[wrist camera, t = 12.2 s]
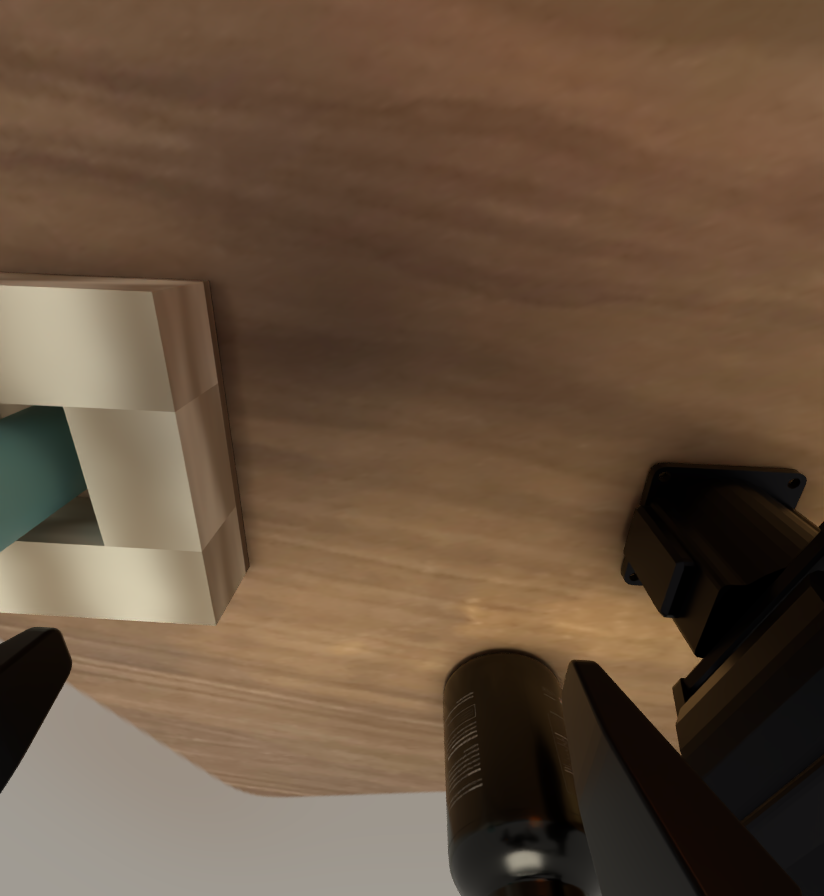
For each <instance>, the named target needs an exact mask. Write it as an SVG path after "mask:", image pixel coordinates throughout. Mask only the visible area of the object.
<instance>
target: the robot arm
mask: <svg viewBox="0 0 824 896" xmlns="http://www.w3.org/2000/svg"><path fill="white" fill-rule="evenodd" d="M663 472H667V473H666V475H665V476H663V477H661V478H659V475H660V474H661V473H663ZM792 479H794V480H793V481H792V482H791V483H789V484H788V482H789V481H790V480H792ZM806 481H807V480H806V477H805V476H804V475H803V474H801V473H800V472H798V471H797V470H794V469H781V468H761V467H742V466H722V465H703V464H683V463H658V464H656V465H654V466H653V467H652V468H651V470H650V472H649V475H648V478H647V482H646V485H645V489H644V492H643V496H642V499H641V503H640V506H638V507H637V508H636V510H635V512H634V516H633V519H632V523H631V526H630V530H629V534H628V537H627V541H626V544H625V548H624V554H625V559H624V563H623V567H622V570H621V575H622V576H623V578H624V580H625V582H626V583H628V584H630V585H640V586H644V588H645V590H646V591H647V593H648V595H649V596H650V598H651V600H652V601H653V603H654V605H655V606H656V608H657V610H658V611H659V612H660V613H661V615H662V616H663V617H667V618H672V619H673V621H674V622H675V624H676V625H677V627H678V629H679V630H680V632H681V633H682V635H683V637H684V638H685V640H686V642H687V643H688V645H689V646H690V648H691V650H692V651H693V653H694V654H695V655H696V657H699V658H703V659H702V660H701V661H700V662H699V664H698V665H697V666H696V667H695V668H694V669H693V670H692V671H691V672H690V673H689V674H688V676H687V677H686V678H681V679H680V680H679V681H678V682H677V683H676V684H675V685H674V686H673V687H672V690H673V695H674V701H675V706H676V712H677V717H678V718H677V722H676V731H677V736H678V742H679V747H680V752H681V754H682V755H680V754H679V753H678V752H677V751H676V750H675V749H674V748H673V746H672V745H671V744H670V743H669V742H668V741H667V740H666V739H665V738H664V737H663V735H662V734H661V733H660V732H659V731H658V730H657V729H656V728H655V727H654V725H653V724H652V723H651V722H650V721H649V720H648V719H647V718H646V717H645V715H644V714H643V713H642V712H641V711H640V710H639V709H638V708H637V707H636V705H635V704H634V703H633V702H632V701H631V700H630V699H629V698H628V697H627V696H626V694H625V693H624V692H623V691H622V690H621V689H620V688H619V687H618V686H617V684H616V683H615V682H614V681H613V680H612V679H611V678H610V677H609V676H608V674H607V673H606V672H605V671H604V670H603V669H602V668H601V667H600V666H599V665H598V664H597V663H596V662H594V661H588V660H572V661H571V662H570V663H569V666H568V669H567V673H566V677H565V681H564V685H563V690H562V709H563V715H564V721H565V727H566V733H567V739H568V746H569V752H570V758H571V764H572V770H573V776H574V782H575V788H576V794H577V799H578V805H579V809H580V813H581V818H582V822H583V826H584V830H585V833H586V837H587V841H588V845H589V849H590V852H591V856H592V860H593V864H594V868H595V871H596V875H597V879H598V883H599V887H600V890H601V894H602V896H824V522H823V523H822V524H821V525H820V526H819V527H817V526H816V525H815V524H813V523H812V522H811V521H810V520H808V519H807V518H806V517H804V516H803V515H802V514H800V513H799V512H798V511H796V510H795V507H796V505H797V503H798V501H799V498H800V496H801V494H802V492H803V489H804V487H805V485H806ZM632 573H636V574H634V575H632V576H630V575H631V574H632ZM71 668H72V659H71V656H70V653H69V651H68V648H67V646H66V643H65V641H64V638H63V635H62V633H61V632H60V630H58V629H56V628H48V627H33V628H30V629H27V630H25V631H23V632H22V633H20V634H18V635H16V636H14V637H12V638H10V639H9V640H7V641H5V642H3V643H1V644H0V793H1V792H2V790H3V789H4V787H5V786H6V784H7V783H8V781H9V780H10V778H11V777H12V775H13V773H14V772H15V770H16V768H17V767H18V765H19V764H20V762H21V760H22V759H23V757H24V755H25V753H26V752H27V750H28V748H29V746H30V745H31V743H32V741H33V739H34V737H35V736H36V734H37V732H38V730H39V728H40V727H41V725H42V723H43V721H44V719H45V718H46V716H47V714H48V712H49V710H50V709H51V707H52V705H53V703H54V701H55V699H56V698H57V696H58V694H59V692H60V691H61V689H62V687H63V685H64V683H65V682H66V680H67V678H68V676H69V674H70V671H71Z"/></svg>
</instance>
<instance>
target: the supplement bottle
mask: <svg viewBox="0 0 824 896" xmlns="http://www.w3.org/2000/svg"><path fill="white" fill-rule="evenodd" d="M443 720H444V749H445V777H446V802H447V804H446V806H447V833H448V855H449V867H450V872H451V875H452V878H453V881H454V883H455V885H456V887H457V889H458V891H459V893H460V895H461V896H602V894H601V890H600V887H599V883H598V879H597V875H596V871H595V868H594V864H593V860H592V856H591V852H590V849H589V845H588V841H587V837H586V833H585V830H584V826H583V822H582V818H581V813H580V809H579V805H578V799H577V794H576V788H575V782H574V776H573V770H572V764H571V758H570V752H569V746H568V739H567V733H566V727H565V721H564V715H563V709H562V689H561V687H560V684H559V682H558V680H557V678H556V677H555V675H554V674H553V673H552V672H551V671H550V670H549V669H548V668H547V667H546V666H545V665H543V664H542V663H540V662H539V661H537V660H535V659H533V658H530V657H528V656H525V655H521V654H516V653H491V654H486V655H482V656H479V657H476V658H474V659H472V660H470V661H468V662H466V663H464V664H463V665H462V666H460V667H459V668H458V669H457V670H456V671H455V672H454V673H453V674H452V675H451V677H450V678H449V680H448V682H447V684H446V687H445V690H444V695H443Z"/></svg>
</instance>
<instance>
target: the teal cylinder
mask: <svg viewBox="0 0 824 896" xmlns="http://www.w3.org/2000/svg"><path fill="white" fill-rule="evenodd" d="M86 489H87V485H86V482H85V479H84V475H83V472H82V469H81V465H80V462H79V459H78V455H77V452H76V448H75V445H74V442H73V438H72V435H71V432H70V428H69V425H68V422H67V418H66V415H65V412H64V408H63V406H42V405H33V406H30V407H28V408H26V409H23V410H21V411H19V412H16V413H14V414H11V415H9V416H7V417H4V418H2V419H0V552H1V551H3V550H4V549H5V548H7V547H8V546H9V545H11V544H12V543H14V542H15V541H16V540H18V539H19V538H20V537H22V536H23V535H25V534H26V533H27V532H29V531H30V530H31V529H33V528H34V527H35V526H37V525H38V524H40V523H41V522H42V521H44V520H45V519H46V518H48V517H49V516H51V515H52V514H53V513H55V512H56V511H57V510H59V509H60V508H61V507H63V506H64V505H66V504H67V503H68V502H70V501H71V500H72V499H74V498H75V497H77V496H78V495H79V494H81V493H82V492H83V491H85V490H86Z"/></svg>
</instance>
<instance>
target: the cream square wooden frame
mask: <svg viewBox="0 0 824 896" xmlns="http://www.w3.org/2000/svg"><path fill="white" fill-rule="evenodd" d="M33 405H42V406H63V408H64V412H65V415H66V418H67V422H68V425H69V428H70V432H71V435H72V438H73V442H74V445H75V448H76V452H77V455H78V459H79V462H80V465H81V469H82V472H83V475H84V479H85V482H86V485H87V489H86V490H85V491H83V492H82V493H81V494H79V495H78V496H77V497H75V498H74V499H72V500H71V501H70V502H68V503H67V504H66V505H64V506H63V507H61V508H60V509H59V510H57V511H56V512H55V513H53V514H52V515H51V516H49V517H48V518H46V519H45V520H44V521H42V522H41V523H40V524H38V525H37V526H35V527H34V528H33V529H31V530H30V531H29V532H27V533H26V534H25V535H23V536H22V537H20V538H19V539H18V540H16V541H15V542H14V543H12V544H11V545H9V546H8V547H7V548H5V549H4V550H3V551H1V552H0V612H3V613H19V614H35V615H51V616H67V617H83V618H99V619H116V620H132V621H148V622H164V623H180V624H196V625H212V626H216V625H217V623H218V621H219V620H220V618H221V616H222V614H223V613H224V611H225V609H226V607H227V605H228V604H229V602H230V600H231V598H232V597H233V595H234V593H235V591H236V590H237V588H238V586H239V584H240V582H241V581H242V579H243V577H244V575H245V574H246V572H247V570H248V568H249V560H248V553H247V546H246V539H245V532H244V525H243V518H242V511H241V504H240V496H239V489H238V482H237V475H236V468H235V461H234V454H233V447H232V440H231V433H230V426H229V419H228V412H227V405H226V397H225V390H224V383H223V376H222V369H221V362H220V355H219V348H218V341H217V334H216V327H215V320H214V313H213V306H212V298H211V291H210V284H209V281H202V280H178V279H154V278H129V277H105V276H81V275H57V274H33V273H9V272H0V419H2V418H4V417H7V416H9V415H11V414H14V413H16V412H19V411H21V410H23V409H26V408H28V407H30V406H33Z"/></svg>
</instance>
